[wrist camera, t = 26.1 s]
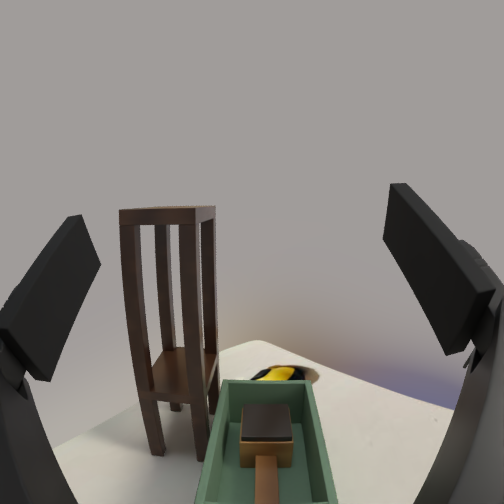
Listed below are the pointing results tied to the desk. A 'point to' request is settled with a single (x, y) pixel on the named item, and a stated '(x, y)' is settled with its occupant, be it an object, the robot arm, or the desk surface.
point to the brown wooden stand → (173, 358)
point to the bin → (289, 479)
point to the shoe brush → (266, 446)
